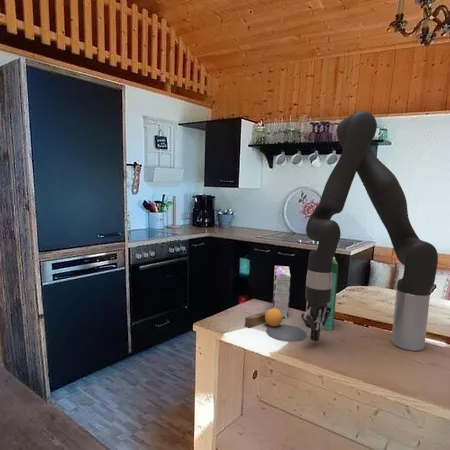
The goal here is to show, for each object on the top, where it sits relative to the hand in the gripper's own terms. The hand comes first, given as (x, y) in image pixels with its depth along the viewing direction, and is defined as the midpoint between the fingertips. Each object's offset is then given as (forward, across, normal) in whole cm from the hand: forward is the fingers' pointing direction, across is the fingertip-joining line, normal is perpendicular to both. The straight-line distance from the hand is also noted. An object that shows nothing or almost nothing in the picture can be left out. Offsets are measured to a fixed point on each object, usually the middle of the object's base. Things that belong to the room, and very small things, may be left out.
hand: (314, 340), depth 109 cm
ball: (-2, +1, +17) cm, 17 cm away
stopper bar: (+2, 0, +22) cm, 22 cm away
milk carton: (+2, +16, +9) cm, 18 cm away
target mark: (+2, 0, +11) cm, 11 cm away
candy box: (+2, +14, +25) cm, 29 cm away
